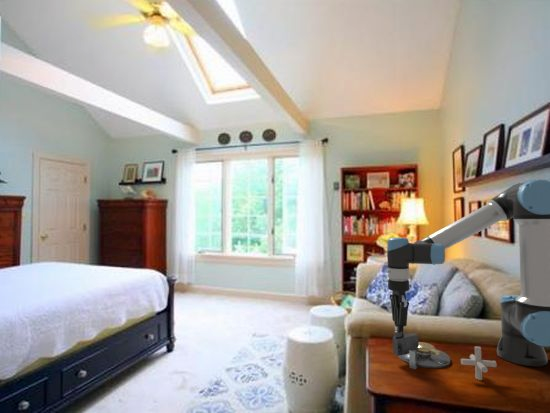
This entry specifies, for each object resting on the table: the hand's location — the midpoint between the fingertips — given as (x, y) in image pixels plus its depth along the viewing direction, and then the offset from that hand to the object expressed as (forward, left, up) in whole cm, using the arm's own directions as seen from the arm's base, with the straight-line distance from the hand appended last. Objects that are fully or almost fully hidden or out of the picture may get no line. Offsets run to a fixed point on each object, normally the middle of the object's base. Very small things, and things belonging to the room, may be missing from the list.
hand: (399, 343), depth 124 cm
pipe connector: (-24, -9, -6) cm, 26 cm away
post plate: (-4, -7, -6) cm, 10 cm away
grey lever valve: (-3, -4, -3) cm, 6 cm away
